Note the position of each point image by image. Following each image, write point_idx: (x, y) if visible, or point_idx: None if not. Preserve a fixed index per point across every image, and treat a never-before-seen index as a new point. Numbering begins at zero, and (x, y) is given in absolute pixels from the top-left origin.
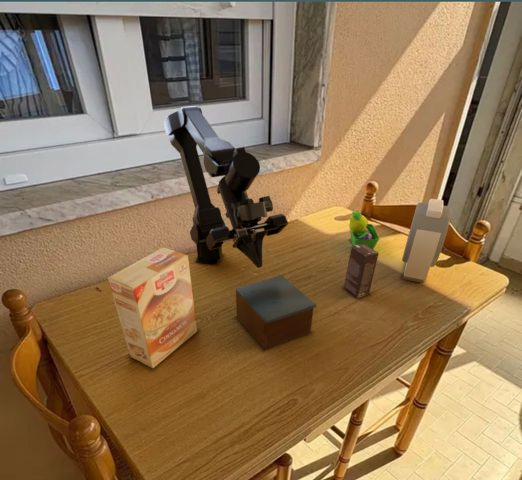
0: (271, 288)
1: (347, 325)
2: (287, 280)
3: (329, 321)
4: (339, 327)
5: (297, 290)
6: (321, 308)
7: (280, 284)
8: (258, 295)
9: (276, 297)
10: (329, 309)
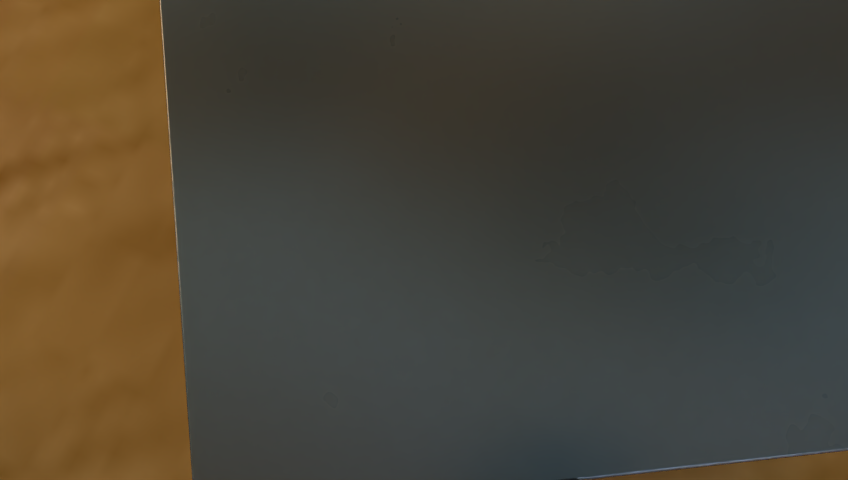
0: (461, 250)
1: (7, 22)
2: (191, 359)
3: (90, 102)
4: (67, 18)
5: (190, 102)
6: (52, 275)
7: (314, 299)
8: (686, 152)
9: (484, 40)
10: (6, 241)
